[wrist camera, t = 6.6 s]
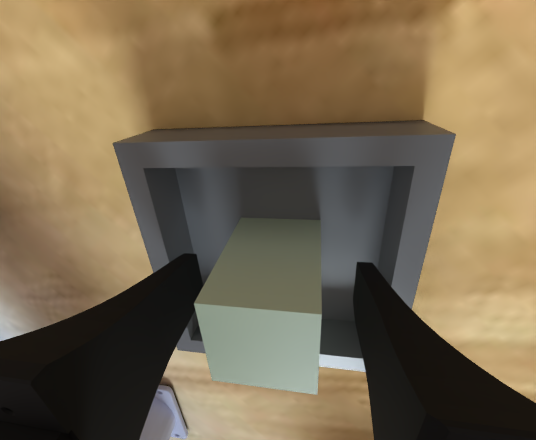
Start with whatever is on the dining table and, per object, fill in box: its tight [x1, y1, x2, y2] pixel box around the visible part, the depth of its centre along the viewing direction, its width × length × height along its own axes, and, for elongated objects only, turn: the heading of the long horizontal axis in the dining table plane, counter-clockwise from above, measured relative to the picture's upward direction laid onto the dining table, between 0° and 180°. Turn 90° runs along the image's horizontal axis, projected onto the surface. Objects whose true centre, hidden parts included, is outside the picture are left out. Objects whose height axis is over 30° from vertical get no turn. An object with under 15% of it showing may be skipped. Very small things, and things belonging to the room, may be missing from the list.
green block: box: [194, 218, 322, 395], centre depth 12 cm, size 4×4×6 cm
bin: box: [113, 120, 456, 372], centre depth 14 cm, size 12×12×3 cm
